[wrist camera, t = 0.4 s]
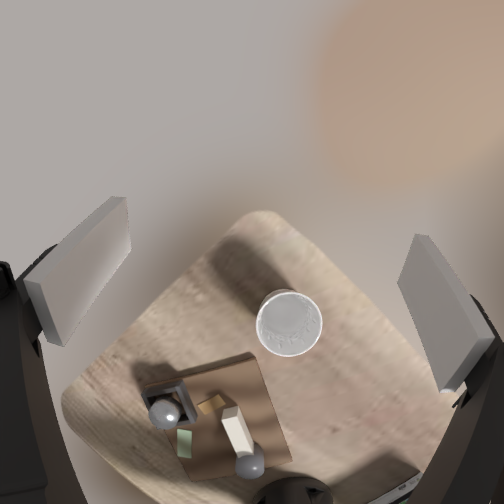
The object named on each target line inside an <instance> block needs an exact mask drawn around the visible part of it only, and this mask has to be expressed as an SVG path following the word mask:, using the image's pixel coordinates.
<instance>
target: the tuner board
mask: <svg viewBox="0 0 504 504" xmlns="http://www.w3.org/2000/svg"><path fill="white" fill-rule="evenodd" d="M141 396H142V398H143V400H144V403H145V405H146V407H147V409H148V411H149V410H150V408H151V407H152V405H153V404H154V402H155V401H156V400H157V399H158V398H159V397H161V396H170V397H172V398H174V399H176V400H177V401H178V402H179V403H180V405H181V407H182V414H181V416H180V418H179V420H178V422H177V424H176V426H175V427H173V428H172V429H167V430H165V429H164V431H165V433H166V435H167V437H168V439H169V441H170V443H171V445H172V447H173V449H174V451H175V452H176V454H177V456H178V458H179V460H180V462H181V464H182V465H183V467H184V469H185V471H186V473H187V474H188V476H189V478H190V480H191V481H192V482H193V481H201V480H208V479H214V478H220V477H226V476H232V475H237V473H236V471H235V465H236V456H237V454H236V452H235V450H234V448H233V445H232V443H231V441H230V439H229V436H228V434H227V432H226V430H225V427H224V425H223V423H222V420H221V419H222V415H223V410H224V409H227V408H231V407H235V406H239V408H240V411H241V413H242V416H243V418H244V421H245V423H246V426H247V428H248V431H249V433H250V435H251V438H252V440H253V443H255V444H257V445H259V446H261V447H262V449H263V451H264V469H265V468H269V467H273V466H277V465H281V464H285V463H289V462H292V457H291V454H290V451H289V449H288V446H287V443H286V441H285V438H284V435H283V432H282V430H281V427H280V424H279V422H278V419H277V416H276V413H275V411H274V408H273V405H272V402H271V399H270V397H269V394H268V391H267V388H266V385H265V383H264V380H263V377H262V374H261V371H260V368H259V366H258V363H257V360H256V357H253V358H250V359H246V360H243V361H239V362H236V363H232V364H229V365H225V366H221V367H218V368H214V369H210V370H206V371H202V372H199V373H195V374H191V375H186V376H182V377H178V378H174V379H169V380H165V381H161V382H156V383H151V384H147V385H146V386H145V390H144V391H143V392H142V393H141ZM156 428H157V430H158V429H160V428H158V427H156Z"/></svg>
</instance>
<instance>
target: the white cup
mask: <svg viewBox="0 0 504 504" xmlns="http://www.w3.org/2000/svg"><path fill="white" fill-rule="evenodd" d="M321 330H322V316H321V313H320V310H319V308H318V307H317V305H316V304H315V303H314V302H313V301H312V300H311V299H310V298H309V297H307V296H305V295H303V294H301V293H299V292H297V291H294V290H290V289H279V290H274V291H272V292H271V293H270V294H268V295H267V296H266V297H265V298H264V300H263V301H262V303H261V305H260V308H259V310H258V315H257V319H256V332H257V335H258V338H259V340H260V342H261V343H262V345H263V346H264V347H265V348H266V349H267V350H269V351H270V352H272V353H274V354H276V355H279V356H285V357H290V356H297V355H300V354H302V353H304V352H306V351H307V350H309V349H310V348H311V347H312V346H313V345H314V344H315V343H316V341H317V340H318V338H319V336H320V333H321Z"/></svg>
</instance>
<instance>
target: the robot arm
mask: <svg viewBox="0 0 504 504" xmlns="http://www.w3.org/2000/svg"><path fill="white" fill-rule="evenodd" d="M130 251H131V244H130V234H129V223H128V212H127V200H126V198H125V197H111V198H110V199H108V200H107V201H106V202H105V203H104V204H102V205H101V206H100V207H99V208H98V209H97V210H95V211H94V212H93V213H92V214H91V215H90V216H88V218H86V219H85V220H84V221H83V222H82V223H81V224H80V225H78V226H77V227H76V228H75V229H74V230H73V231H72V232H71V233H70V234H69V235H67V236H66V237H65V238H64V239H63V240H62V241H61V242H60V243H59V244H56V245H54V246H52V247H50V248H49V249H47V250H45V251H44V252H43V253H42V254H41V255H40V256H39V259H38V258H37V259H36V260H35V261H34V262H33V265H30V266H29V267H28V268H27V269H26V270H25V271H24V272H23V273H22V274H21V275H20V277H18V278H17V279H16V280H14V278H13V274H12V271H11V268H10V265H9V264H8V263H7V262H3V261H0V504H88V503H87V500H86V498H85V496H84V494H83V491H82V489H81V487H80V484H79V482H78V479H77V477H76V475H75V471H74V469H73V467H72V463H71V461H70V458H69V455H68V452H67V449H66V446H65V443H64V440H63V437H62V434H61V431H60V427H59V424H58V420H57V417H56V413H55V409H54V406H53V402H52V398H51V394H50V389H49V385H48V380H47V376H46V371H45V366H44V361H43V355H42V349H41V344H40V341H39V339H38V335H39V334H40V333H41V331H42V330H43V332H44V335H45V337H46V339H47V341H48V342H50V343H53V344H56V345H59V346H62V347H64V346H65V345H66V343H67V341H68V340H69V338H70V337H71V335H72V334H73V332H74V330H75V329H76V327H77V326H78V324H79V323H80V321H81V320H82V318H83V317H84V315H85V314H86V312H87V311H88V309H89V308H90V306H91V305H92V304H93V302H94V301H95V299H96V297H97V296H98V295H99V293H100V292H101V291H102V289H103V287H104V286H105V285H106V284H107V282H108V281H109V279H110V278H111V277H112V275H113V274H114V273H115V271H116V270H117V268H118V267H119V266H120V264H121V263H122V262H123V260H124V259H125V258H126V256H127V255H128V254H129V252H130ZM397 284H398V286H399V288H400V290H401V292H402V295H403V297H404V300H405V302H406V304H407V307H408V309H409V311H410V314H411V316H412V319H413V321H414V324H415V326H416V329H417V331H418V334H419V336H420V339H421V342H422V344H423V347H424V350H425V352H426V355H427V357H428V360H429V363H430V366H431V369H432V372H433V375H434V378H435V381H436V384H437V387H438V390H439V393H443V392H456V390H457V389H458V388H459V387H460V385H461V384H462V383H463V382H464V381H465V384H466V386H467V389H466V390H465V391H464V393H463V394H462V395H461V396H460V397H459V399H458V400H457V401H456V402H455V403H454V404H453V406H452V408H454V407H455V406H456V405H458V406H457V408H456V410H455V413H454V415H453V417H452V419H451V422H450V424H449V426H448V428H447V430H446V432H445V434H444V437H443V439H442V441H441V443H440V445H439V447H438V448H437V450H436V452H435V454H434V456H433V458H432V460H431V462H430V463H429V465H428V467H427V469H426V471H425V472H424V474H423V476H422V477H421V479H420V481H419V482H418V484H417V486H416V487H415V489H414V491H413V492H412V494H411V495H410V497H409V498H408V500H407V501H406V503H405V504H489V503H490V501H491V503H490V504H504V342H502V340H501V338H500V336H499V334H498V333H497V331H496V329H495V328H494V326H493V324H492V322H491V321H490V320H489V317H488V316H487V314H486V313H485V311H484V309H483V308H482V306H481V304H480V303H479V302H478V301H477V300H476V299H475V298H474V297H473V296H472V295H470V294H469V293H468V291H467V290H466V288H465V287H464V285H463V284H462V282H461V281H460V279H459V278H458V276H457V275H456V273H455V272H454V270H453V269H452V268H451V266H450V264H449V263H448V262H447V260H446V259H445V257H444V256H443V255H442V253H441V252H440V250H439V249H438V248H437V246H436V245H435V244H434V242H433V241H432V240H431V238H430V237H429V236H426V235H420V234H415V236H414V238H413V241H412V244H411V247H410V250H409V253H408V256H407V258H406V261H405V264H404V267H403V270H402V272H401V274H400V277H399V280H398V282H397ZM253 504H333V497H332V494H331V491H330V489H329V488H328V487H327V486H326V485H325V484H324V483H322V482H320V481H318V480H315V479H311V478H305V477H293V478H286V479H281V480H278V481H275V482H273V483H270V484H268V485H267V486H265V487H264V488H262V489H261V490H260V491H259V492H258V493H257V494H256V496H255V498H254V500H253Z"/></svg>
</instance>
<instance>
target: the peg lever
mask: <svg viewBox="0 0 504 504" xmlns="http://www.w3.org/2000/svg"><path fill="white" fill-rule="evenodd" d="M221 420H222V423H223V425H224V427H225V430H226V432H227V434H228V436H229V439H230V441H231V443H232V445H233V448H234V450H235V452H236V454H237V456H236V465H235V471H236V473H237V475H238V476H240V477H241V478H244V479H256V478H258V477H260V476H261V475H262V474H263V473H264V451H263V449H262V447H261V446H259V445H257V444H255V443H253V440H252V438H251V435H250V433H249V431H248V428H247V426H246V423H245V421H244V418H243V416H242V413H241V411H240V408H239V406H235V407H231V408H227V409H224V410H223V415H222V419H221Z"/></svg>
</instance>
